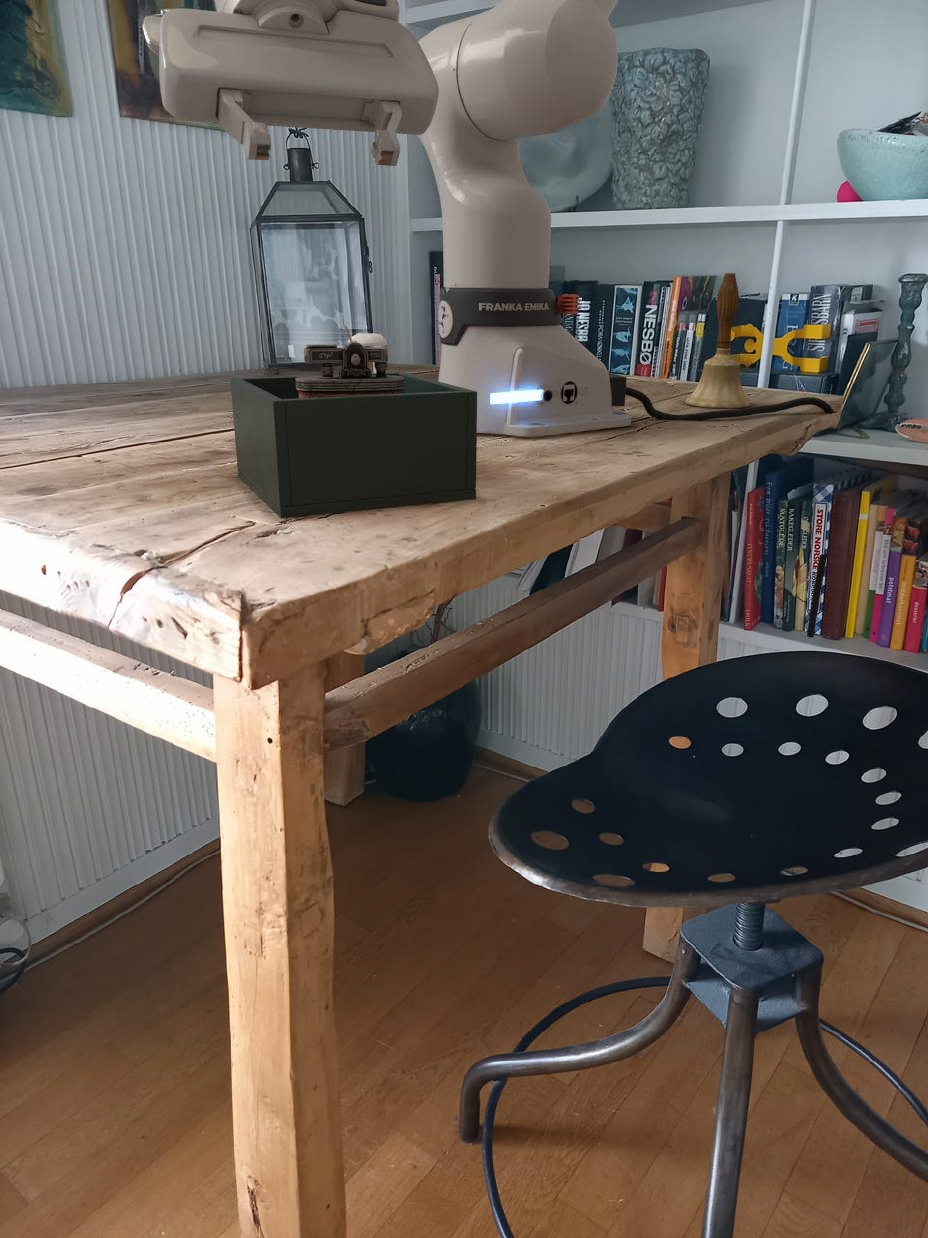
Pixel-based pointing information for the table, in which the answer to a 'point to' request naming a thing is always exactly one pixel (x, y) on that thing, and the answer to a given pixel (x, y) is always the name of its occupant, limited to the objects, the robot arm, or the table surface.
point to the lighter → (348, 372)
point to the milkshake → (368, 342)
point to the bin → (354, 446)
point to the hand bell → (722, 359)
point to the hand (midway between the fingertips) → (326, 155)
